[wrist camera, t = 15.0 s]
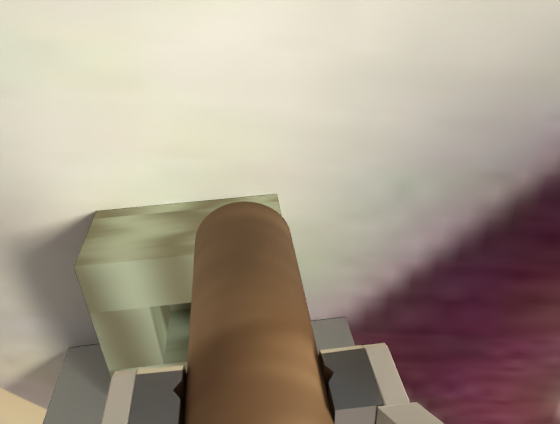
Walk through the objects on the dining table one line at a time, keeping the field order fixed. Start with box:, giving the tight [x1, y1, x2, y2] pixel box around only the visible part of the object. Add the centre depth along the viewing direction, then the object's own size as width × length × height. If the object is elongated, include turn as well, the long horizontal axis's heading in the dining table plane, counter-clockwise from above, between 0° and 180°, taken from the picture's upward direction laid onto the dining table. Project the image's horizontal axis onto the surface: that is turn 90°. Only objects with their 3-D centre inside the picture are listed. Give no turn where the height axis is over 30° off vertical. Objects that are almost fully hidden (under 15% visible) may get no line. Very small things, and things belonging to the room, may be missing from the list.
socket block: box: [74, 194, 282, 378], centre depth 34 cm, size 12×12×6 cm
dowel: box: [184, 201, 334, 424], centre depth 11 cm, size 3×3×10 cm
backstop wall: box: [43, 317, 355, 424], centre depth 36 cm, size 22×2×10 cm, turn 93°
